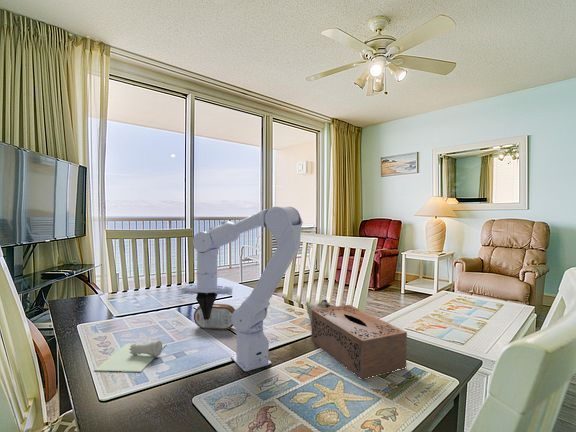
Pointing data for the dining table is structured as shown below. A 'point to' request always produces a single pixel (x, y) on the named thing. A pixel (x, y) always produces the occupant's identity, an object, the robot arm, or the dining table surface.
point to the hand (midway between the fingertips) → (207, 318)
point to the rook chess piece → (147, 348)
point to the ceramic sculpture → (318, 307)
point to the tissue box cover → (359, 340)
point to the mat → (126, 361)
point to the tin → (215, 317)
